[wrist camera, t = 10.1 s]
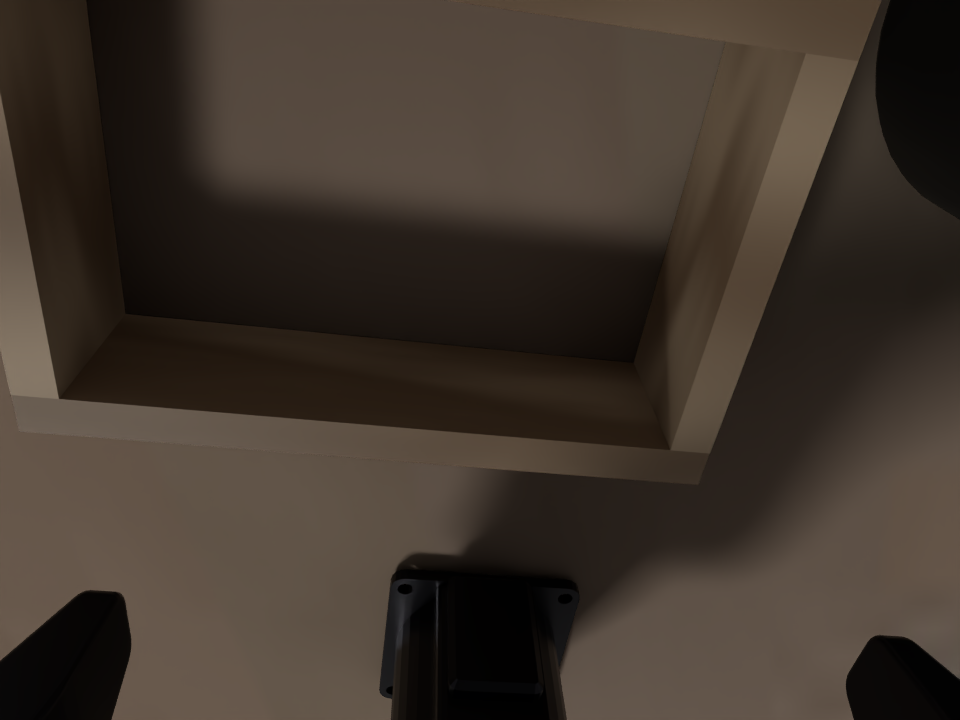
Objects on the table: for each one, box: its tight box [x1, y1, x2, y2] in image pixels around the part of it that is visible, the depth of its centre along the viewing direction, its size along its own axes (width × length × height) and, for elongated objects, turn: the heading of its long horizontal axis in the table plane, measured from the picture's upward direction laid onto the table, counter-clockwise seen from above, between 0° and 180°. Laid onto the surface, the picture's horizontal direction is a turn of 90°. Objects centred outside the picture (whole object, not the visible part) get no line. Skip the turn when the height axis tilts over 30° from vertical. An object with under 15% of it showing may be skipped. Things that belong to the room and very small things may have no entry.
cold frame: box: [0, 0, 882, 485], centre depth 16 cm, size 11×16×4 cm
